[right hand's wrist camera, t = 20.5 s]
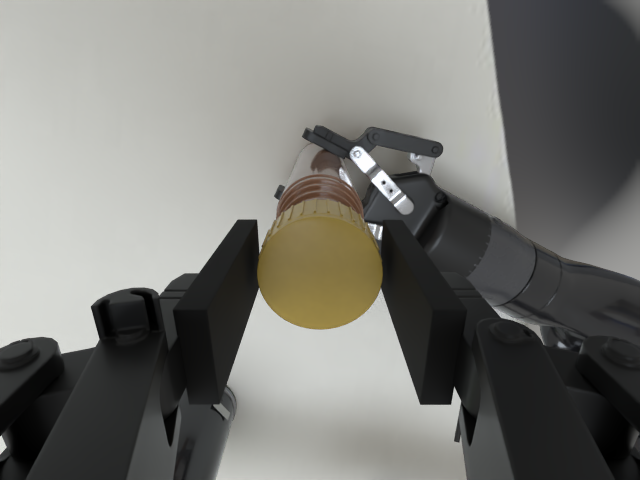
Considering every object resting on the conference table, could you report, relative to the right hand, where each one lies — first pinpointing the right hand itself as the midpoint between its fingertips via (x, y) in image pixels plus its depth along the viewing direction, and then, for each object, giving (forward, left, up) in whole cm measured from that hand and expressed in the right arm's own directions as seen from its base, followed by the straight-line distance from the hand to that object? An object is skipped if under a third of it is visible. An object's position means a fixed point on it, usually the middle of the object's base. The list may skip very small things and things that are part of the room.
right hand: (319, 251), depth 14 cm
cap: (0, 0, +2) cm, 2 cm away
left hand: (0, -3, -16) cm, 16 cm away
